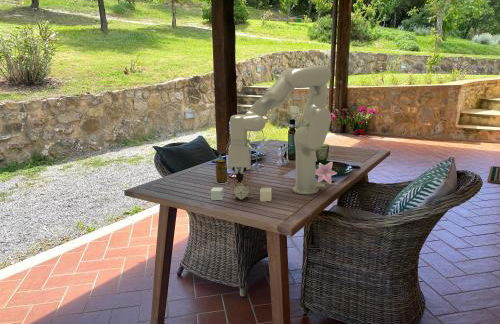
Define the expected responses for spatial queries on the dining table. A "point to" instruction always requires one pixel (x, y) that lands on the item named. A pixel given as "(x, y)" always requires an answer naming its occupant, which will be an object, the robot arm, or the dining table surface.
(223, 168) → the condiment
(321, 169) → the lily
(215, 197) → the grey-green block
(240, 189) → the game die
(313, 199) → the dining table surface
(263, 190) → the off-white block
